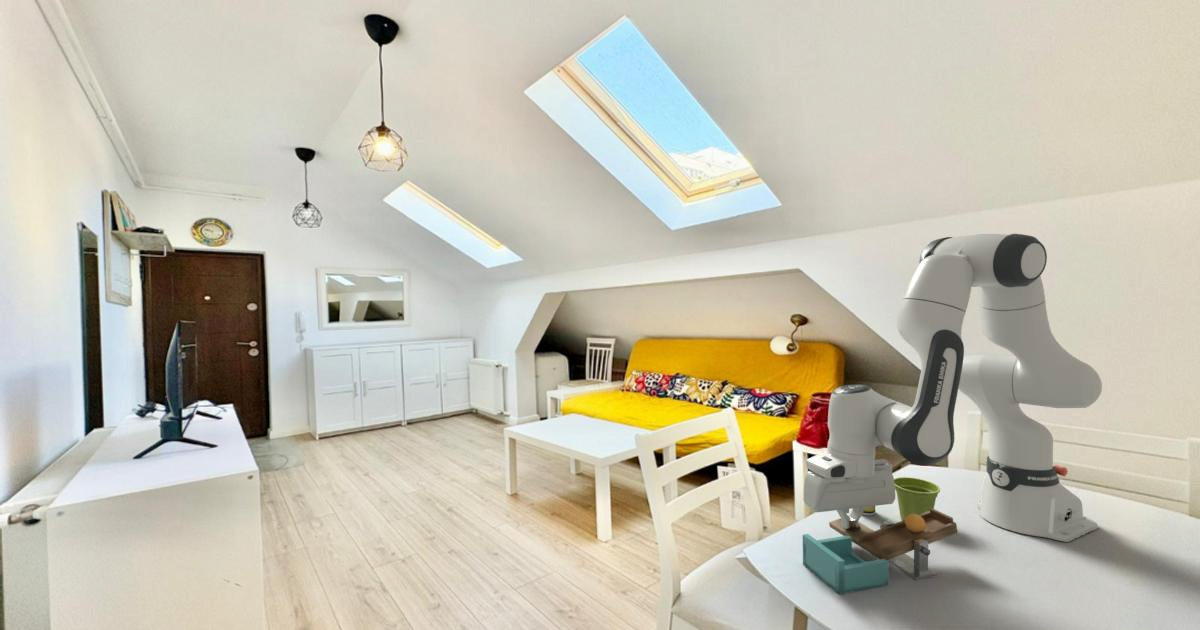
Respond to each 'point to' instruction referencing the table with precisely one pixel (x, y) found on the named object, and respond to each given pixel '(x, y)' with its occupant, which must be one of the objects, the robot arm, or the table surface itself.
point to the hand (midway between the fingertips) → (849, 526)
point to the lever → (898, 535)
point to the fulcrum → (911, 566)
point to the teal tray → (843, 565)
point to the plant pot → (915, 495)
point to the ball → (915, 523)
